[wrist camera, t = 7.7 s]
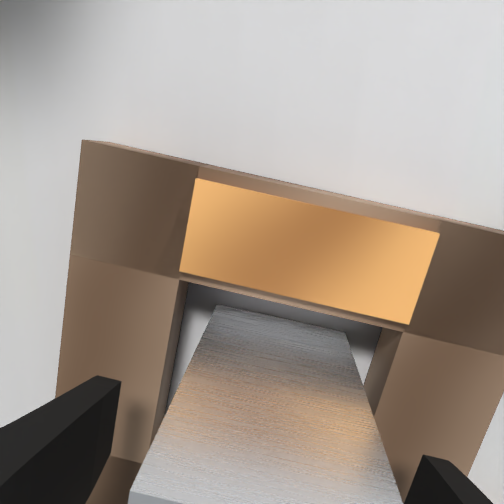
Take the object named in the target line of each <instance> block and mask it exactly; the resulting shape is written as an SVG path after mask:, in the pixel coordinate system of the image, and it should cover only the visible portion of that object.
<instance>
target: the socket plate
mask: <svg viewBox="0 0 504 504" xmlns="http://www.w3.org/2000/svg"><path fill="white" fill-rule="evenodd" d="M189 282H191V283H196V284H200V285H204V286H209V287H213V288H217V289H221V290H226V291H230V292H234V293H238V294H243V295H247V296H251V297H256V298H260V299H264V300H268V301H273V302H277V303H281V304H285V305H290V306H294V307H298V308H303V309H307V310H311V311H315V312H320V313H324V314H328V315H332V316H337V317H341V318H345V319H350V320H354V321H358V322H362V323H367V324H371V325H375V326H379V327H383V328H382V331H381V334H380V337H379V340H378V343H377V346H376V349H375V352H374V356H373V359H372V362H371V365H370V368H369V371H368V374H367V377H366V380H365V383H364V386H363V387H364V390H365V393H366V396H367V399H368V402H369V405H370V408H371V411H372V414H373V417H374V420H375V422H376V425H377V428H378V431H379V434H380V437H381V440H382V443H383V446H384V449H385V452H386V455H387V458H388V461H389V464H390V467H391V470H392V473H393V476H394V479H395V481H396V484H397V487H398V490H399V493H400V496H401V499H402V502H403V504H404V502H405V499H406V497H407V494H408V491H409V489H410V486H411V484H412V481H413V479H414V476H415V473H416V471H417V468H418V466H419V463H420V460H421V458H422V455H423V454H424V455H428V456H432V457H436V458H441V459H445V460H449V461H450V462H451V463H452V464H454V465H455V466H456V467H457V468H458V469H459V470H460V471H461V472H462V473H463V474H464V475H465V476H466V477H467V476H468V474H469V471H470V469H471V467H472V464H473V462H474V460H475V457H476V455H477V453H478V450H479V448H480V446H481V443H482V441H483V439H484V436H485V434H486V432H487V429H488V427H489V425H490V422H491V420H492V418H493V415H494V413H495V411H496V408H497V406H498V404H499V401H500V399H501V397H502V394H503V392H504V231H502V230H498V229H493V228H489V227H484V226H480V225H475V224H471V223H466V222H462V221H457V220H453V219H449V218H444V217H440V216H435V215H431V214H426V213H422V212H417V211H413V210H409V209H404V208H400V207H395V206H391V205H386V204H382V203H377V202H373V201H369V200H364V199H360V198H355V197H351V196H346V195H342V194H337V193H333V192H329V191H324V190H320V189H315V188H311V187H306V186H302V185H297V184H293V183H289V182H284V181H280V180H275V179H271V178H266V177H262V176H257V175H253V174H249V173H244V172H240V171H235V170H231V169H226V168H222V167H217V166H213V165H209V164H204V163H200V162H195V161H191V160H186V159H182V158H177V157H173V156H168V155H164V154H160V153H155V152H151V151H146V150H142V149H137V148H133V147H128V146H124V145H120V144H115V143H111V142H103V141H92V140H82V144H81V153H80V163H79V173H78V182H77V192H76V202H75V211H74V221H73V231H72V241H71V250H70V260H69V270H68V279H67V289H66V299H65V308H64V318H63V328H62V337H61V347H60V357H59V367H58V376H57V386H56V396H55V398H57V397H59V396H61V395H62V394H64V393H66V392H68V391H69V390H71V389H73V388H75V387H76V386H78V385H80V384H82V383H83V382H85V381H87V380H89V379H91V378H92V377H94V376H96V375H99V376H103V377H107V378H111V379H115V380H119V381H122V382H121V389H120V396H119V402H118V409H117V416H116V422H115V429H114V436H113V442H112V449H111V454H110V456H109V458H108V460H107V462H106V464H105V466H104V468H103V470H102V472H101V475H100V477H99V479H98V481H97V483H96V485H95V487H94V489H93V491H92V493H91V495H90V497H89V498H88V500H87V502H86V503H85V504H128V499H129V492H130V489H131V487H132V485H133V483H134V481H135V478H136V476H137V474H138V472H139V470H140V468H141V466H142V464H143V461H144V459H145V457H146V455H147V453H148V451H149V449H150V446H151V444H152V442H153V440H154V438H155V436H156V434H157V432H158V429H159V427H160V425H161V423H162V421H163V419H164V415H165V409H166V404H167V398H168V393H169V388H170V382H171V377H172V371H173V366H174V361H175V355H176V350H177V344H178V339H179V334H180V328H181V323H182V317H183V312H184V307H185V301H186V296H187V290H188V285H189Z"/></svg>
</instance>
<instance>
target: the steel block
mask: <svg viewBox="0 0 504 504" xmlns="http://www.w3.org/2000/svg"><path fill="white" fill-rule="evenodd" d="M128 504H403V502H402V499H401V496H400V493H399V490H398V487H397V484H396V481H395V479H394V476H393V473H392V470H391V467H390V464H389V461H388V458H387V455H386V452H385V449H384V446H383V443H382V440H381V437H380V434H379V431H378V428H377V425H376V422H375V420H374V417H373V414H372V411H371V408H370V405H369V402H368V399H367V396H366V393H365V390H364V387H363V384H362V381H361V378H360V375H359V372H358V369H357V366H356V363H355V360H354V358H353V355H352V352H351V349H350V346H349V343H348V340H347V337H346V334H345V332H342V331H337V330H333V329H328V328H324V327H319V326H315V325H310V324H305V323H301V322H296V321H292V320H287V319H283V318H278V317H274V316H269V315H265V314H260V313H256V312H251V311H247V310H242V309H237V308H233V307H228V306H224V305H219V304H217V306H216V308H215V310H214V312H213V314H212V316H211V318H210V321H209V323H208V325H207V327H206V329H205V331H204V333H203V335H202V338H201V340H200V342H199V344H198V346H197V348H196V350H195V353H194V355H193V357H192V359H191V361H190V363H189V365H188V367H187V370H186V372H185V374H184V376H183V378H182V380H181V382H180V385H179V387H178V389H177V391H176V393H175V395H174V397H173V400H172V402H171V404H170V406H169V408H168V410H167V412H166V414H165V417H164V419H163V421H162V423H161V425H160V427H159V429H158V432H157V434H156V436H155V438H154V440H153V442H152V444H151V446H150V449H149V451H148V453H147V455H146V457H145V459H144V461H143V464H142V466H141V468H140V470H139V472H138V474H137V476H136V478H135V481H134V483H133V485H132V487H131V489H130V492H129V499H128Z"/></svg>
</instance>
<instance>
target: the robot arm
mask: <svg viewBox="0 0 504 504" xmlns="http://www.w3.org/2000/svg"><path fill="white" fill-rule="evenodd" d="M121 382H122V381H119V380H115V379H111V378H107V377H103V376H99V375H96V376H94V377H92V378H91V379H89V380H87V381H85V382H83V383H82V384H80V385H78V386H76V387H75V388H73V389H71V390H69V391H68V392H66V393H64V394H62V395H61V396H59V397H57V398H55V399H54V400H52V401H50V402H48V403H47V404H45V405H43V406H41V407H39V408H37V409H36V410H34V411H32V412H30V413H28V414H26V415H25V416H23V417H21V418H19V419H17V420H15V421H14V422H12V423H10V424H8V425H6V426H4V427H2V428H0V504H85V503H86V502H87V500H88V498H89V497H90V495H91V493H92V491H93V489H94V487H95V485H96V483H97V481H98V479H99V477H100V475H101V472H102V470H103V468H104V466H105V464H106V462H107V460H108V458H109V456H110V454H111V449H112V442H113V436H114V429H115V422H116V416H117V409H118V402H119V396H120V389H121ZM404 504H493V503H492V502H491V501H490V500H489V499H488V498H487V497H486V496H485V495H484V494H483V493H482V492H481V491H480V490H479V489H478V488H477V487H476V486H475V485H474V484H473V483H472V482H471V481H470V480H469V479H468V478H467V477H466V476H465V475H464V474H463V473H462V472H461V471H460V470H459V469H458V468H457V467H456V466H455V465H454V464H452V463H451V462H450V461H449V460H445V459H441V458H436V457H432V456H428V455H424V454H423V455H422V458H421V460H420V463H419V466H418V468H417V471H416V473H415V476H414V479H413V481H412V484H411V486H410V489H409V491H408V494H407V497H406V499H405V502H404Z"/></svg>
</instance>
